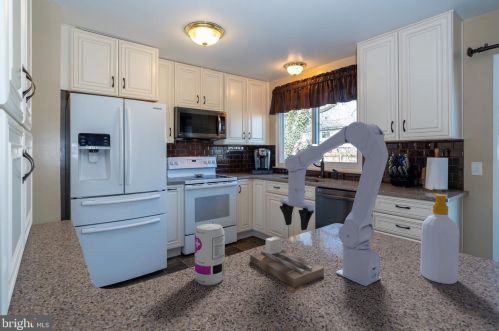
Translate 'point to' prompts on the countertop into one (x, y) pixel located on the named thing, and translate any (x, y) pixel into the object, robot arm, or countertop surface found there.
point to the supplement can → (209, 253)
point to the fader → (273, 245)
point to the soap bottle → (440, 245)
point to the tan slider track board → (287, 267)
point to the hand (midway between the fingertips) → (296, 227)
